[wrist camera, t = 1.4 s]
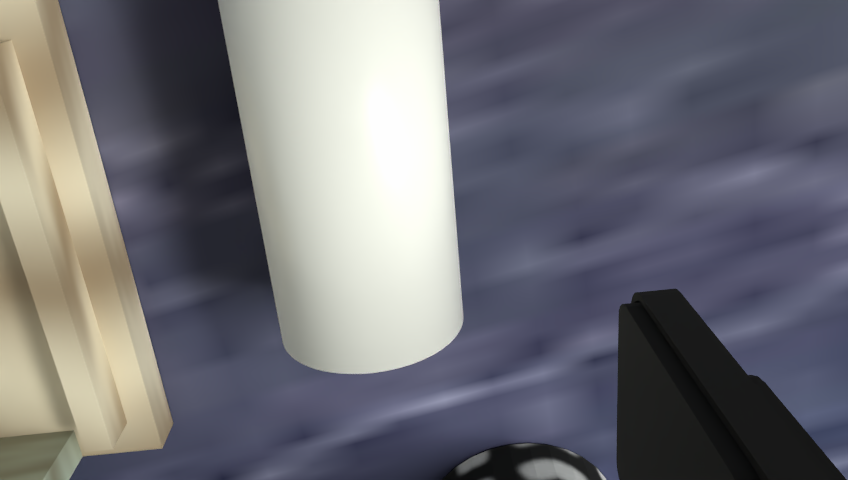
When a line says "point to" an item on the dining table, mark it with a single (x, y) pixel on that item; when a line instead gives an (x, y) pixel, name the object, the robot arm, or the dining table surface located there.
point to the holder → (63, 271)
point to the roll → (350, 175)
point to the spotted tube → (526, 465)
